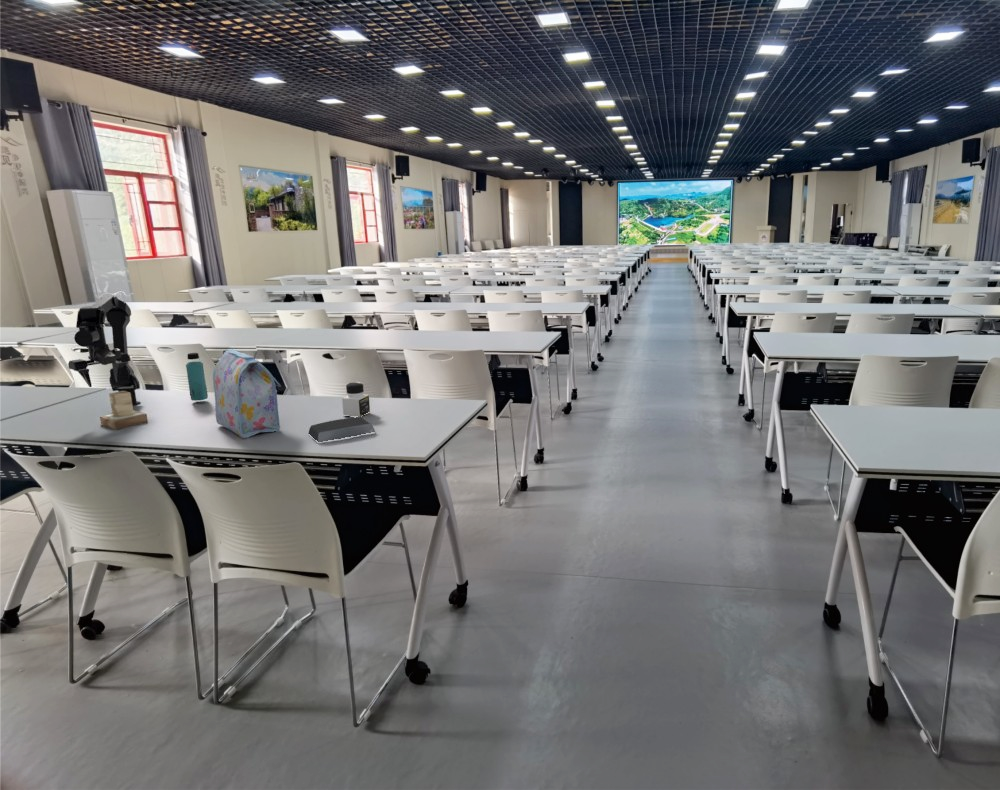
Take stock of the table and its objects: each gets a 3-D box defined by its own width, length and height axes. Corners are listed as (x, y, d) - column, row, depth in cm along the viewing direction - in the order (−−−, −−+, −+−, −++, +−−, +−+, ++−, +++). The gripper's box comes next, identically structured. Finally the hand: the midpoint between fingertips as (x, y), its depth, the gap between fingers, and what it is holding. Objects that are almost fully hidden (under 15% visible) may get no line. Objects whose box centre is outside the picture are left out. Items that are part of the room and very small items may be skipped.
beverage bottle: (211, 400, 263) (205, 351, 258) (203, 404, 257) (196, 354, 252) (196, 400, 264) (189, 351, 259) (187, 404, 257) (180, 354, 252)
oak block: (112, 415, 232) (108, 393, 230) (127, 412, 236) (123, 390, 234) (119, 417, 230) (115, 395, 228) (133, 414, 233) (130, 392, 231)
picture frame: (101, 424, 232) (99, 416, 232) (132, 417, 241) (131, 408, 240) (116, 429, 226) (114, 420, 225) (147, 421, 235) (146, 413, 234)
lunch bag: (289, 429, 223) (281, 353, 216) (241, 441, 211) (231, 361, 205) (260, 417, 238) (252, 345, 232) (213, 427, 227) (203, 352, 220)
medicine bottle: (360, 418, 234) (358, 386, 231) (343, 416, 236) (340, 384, 233) (370, 413, 241) (368, 381, 238) (353, 411, 243) (351, 380, 240)
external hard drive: (376, 435, 216) (376, 423, 215) (318, 446, 207) (317, 433, 205) (363, 425, 227) (362, 414, 226) (307, 435, 217) (306, 423, 216)
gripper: (78, 348, 221) (86, 392, 225) (134, 339, 235) (141, 381, 239) (63, 345, 227) (72, 388, 231) (119, 337, 242) (126, 378, 246)
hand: (104, 384), depth 237 cm, fingers open, 9 cm apart
